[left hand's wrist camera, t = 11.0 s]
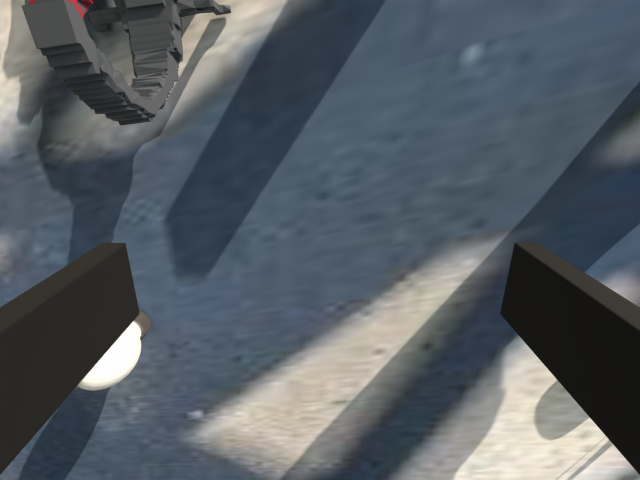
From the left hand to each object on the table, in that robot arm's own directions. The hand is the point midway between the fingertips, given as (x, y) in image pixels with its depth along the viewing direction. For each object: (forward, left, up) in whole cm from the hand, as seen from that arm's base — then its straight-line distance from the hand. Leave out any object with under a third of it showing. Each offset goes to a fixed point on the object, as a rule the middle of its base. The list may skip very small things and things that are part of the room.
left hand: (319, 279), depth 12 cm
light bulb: (+29, +14, -30) cm, 44 cm away
